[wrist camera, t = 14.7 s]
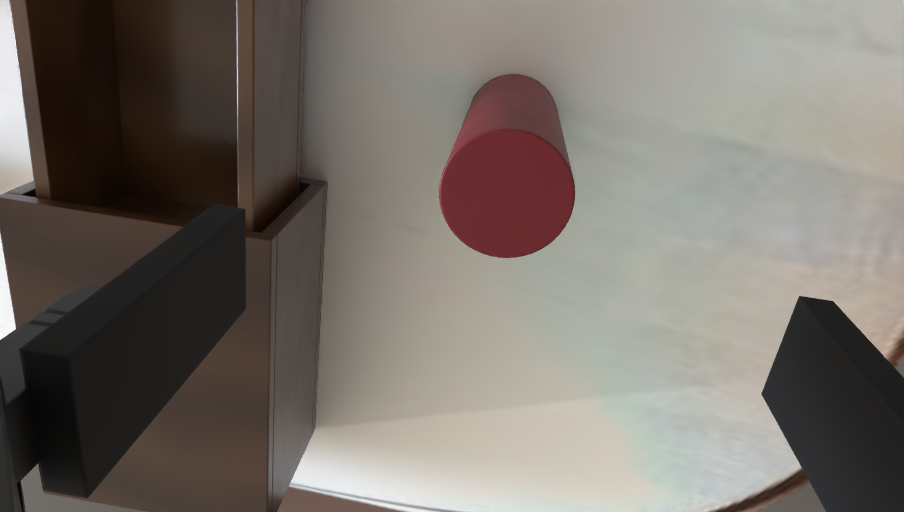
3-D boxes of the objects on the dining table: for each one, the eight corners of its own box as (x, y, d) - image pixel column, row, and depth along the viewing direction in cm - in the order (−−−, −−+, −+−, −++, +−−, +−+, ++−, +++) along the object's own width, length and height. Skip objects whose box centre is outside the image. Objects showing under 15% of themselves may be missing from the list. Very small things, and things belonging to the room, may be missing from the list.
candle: (558, 72, 36) (577, 126, 23) (556, 162, 38) (573, 258, 25) (466, 75, 36) (434, 130, 23) (469, 163, 38) (442, 259, 25)
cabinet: (109, 148, 40) (-7, 197, 31) (327, 181, 39) (271, 241, 31) (131, 398, 48) (42, 493, 39) (315, 429, 47) (267, 533, 38)
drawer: (76, -245, 31) (-57, -310, 24) (330, -213, 31) (271, -269, 24) (114, 197, 40) (26, 245, 33) (311, 228, 40) (265, 283, 33)
